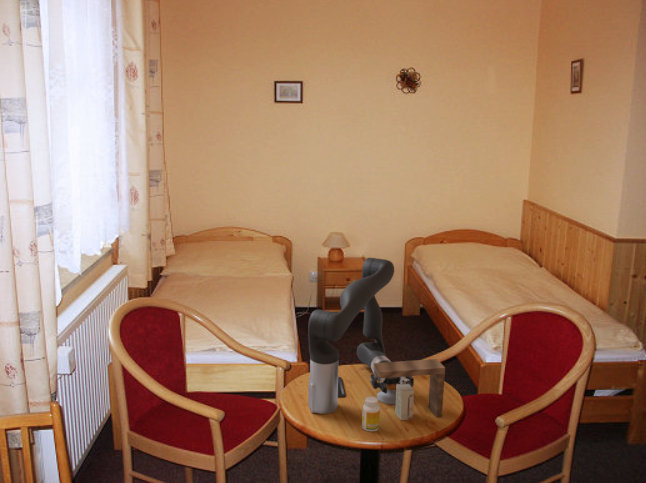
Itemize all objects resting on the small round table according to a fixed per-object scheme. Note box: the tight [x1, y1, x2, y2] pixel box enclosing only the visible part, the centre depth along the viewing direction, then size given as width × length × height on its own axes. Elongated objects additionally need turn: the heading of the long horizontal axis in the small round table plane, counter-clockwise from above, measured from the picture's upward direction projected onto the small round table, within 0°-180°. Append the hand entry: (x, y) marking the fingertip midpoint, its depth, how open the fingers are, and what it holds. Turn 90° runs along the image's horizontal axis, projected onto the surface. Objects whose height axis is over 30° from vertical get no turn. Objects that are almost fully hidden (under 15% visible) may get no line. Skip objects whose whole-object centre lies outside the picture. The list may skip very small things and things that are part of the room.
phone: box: [338, 376, 346, 398], centre depth 218 cm, size 8×1×15 cm
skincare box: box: [394, 384, 415, 421], centre depth 198 cm, size 5×4×10 cm
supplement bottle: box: [361, 396, 381, 433], centre depth 190 cm, size 5×5×10 cm
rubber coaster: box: [376, 389, 396, 406], centre depth 211 cm, size 10×10×1 cm
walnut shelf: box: [373, 358, 446, 418], centre depth 198 cm, size 22×7×17 cm, turn 102°
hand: (398, 389), depth 203 cm, fingers open, 8 cm apart
